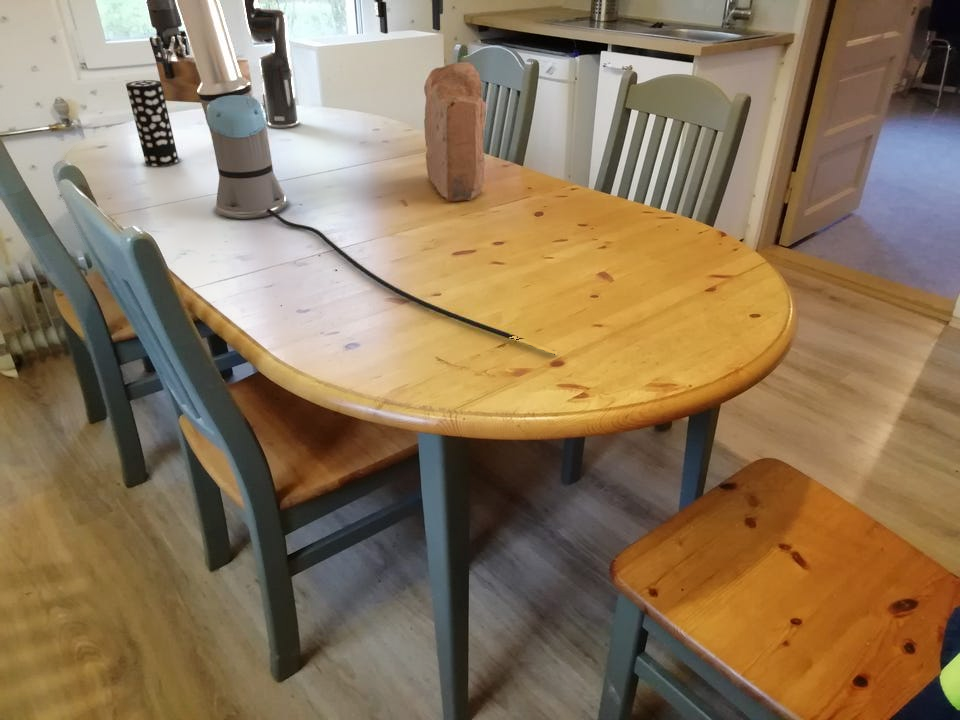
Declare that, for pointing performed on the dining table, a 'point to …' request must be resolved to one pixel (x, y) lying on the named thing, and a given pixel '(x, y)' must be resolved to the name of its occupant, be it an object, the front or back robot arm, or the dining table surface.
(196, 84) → the box
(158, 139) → the black white spotted cylinder
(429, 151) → the stone
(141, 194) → the dining table surface
